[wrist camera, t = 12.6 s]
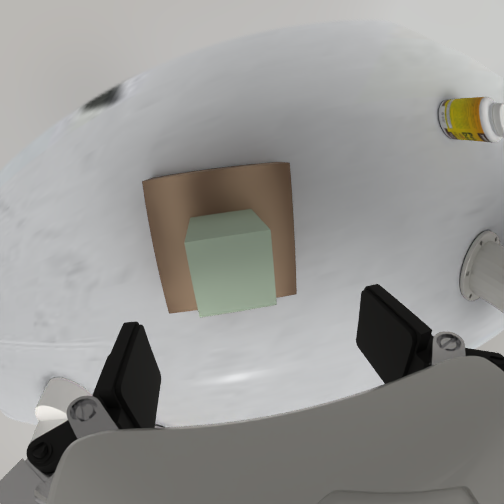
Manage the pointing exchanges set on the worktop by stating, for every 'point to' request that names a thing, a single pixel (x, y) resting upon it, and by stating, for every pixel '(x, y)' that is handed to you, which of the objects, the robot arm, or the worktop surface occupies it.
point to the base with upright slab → (56, 404)
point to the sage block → (230, 262)
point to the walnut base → (213, 202)
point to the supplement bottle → (472, 119)
